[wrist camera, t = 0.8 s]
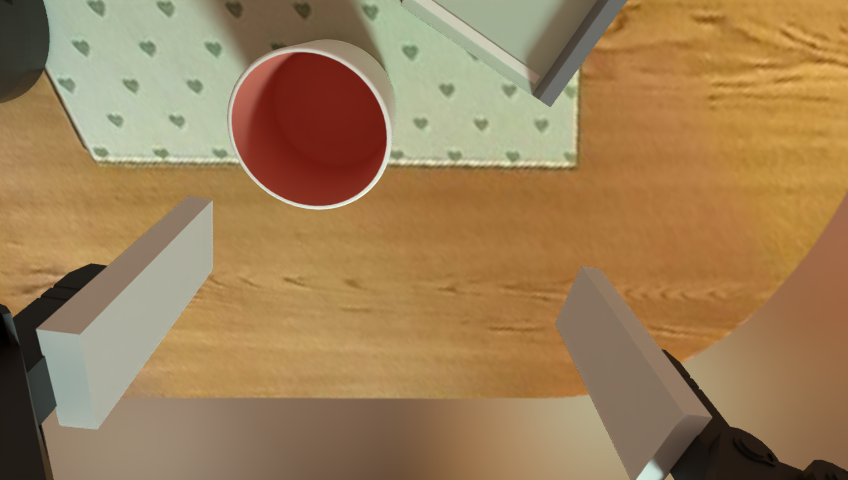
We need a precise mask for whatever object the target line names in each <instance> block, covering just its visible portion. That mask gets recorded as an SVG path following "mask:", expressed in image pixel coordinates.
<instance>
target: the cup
mask: <svg viewBox="0 0 848 480" xmlns="http://www.w3.org/2000/svg"><path fill="white" fill-rule="evenodd" d="M227 119H228V131H229V137H230V140H231V144H232V147H233V150H234V152H235V154H236V156H237V158H238V160H239V162H240V164H241V165H242V167H243V168H244V170H245V171H246V172H247V174H248V175H249V176H250V177H251V178H252V179H253V180H254V182H255V183H257V184H258V185H259V186H260V187H261V188H262V189H264V190H265V191H266V192H268V193H269V194H270V195H272V196H274V197H275V198H277V199H279V200H281V201H283V202H286V203H288V204H291V205H294V206H298V207H302V208H308V209H330V208H336V207H340V206H343V205H346V204H348V203H351V202H353V201H355V200H357V199H358V198H360V197H361V196H363V195H364V194H365V193H367V192H368V191H369V190H370V189H371V188H372V187H373V186H374V185H375V184H376V183H377V181H378V180H379V178H380V177H381V175H382V174H383V172H384V170H385V168H386V165H387V163H388V160H389V156H390V152H391V147H392V141H393V136H394V130H395V125H396V119H397V102H396V97H395V93H394V89H393V86H392V84H391V81H390V79H389V78H388V76H387V74H386V72H385V71H384V69H383V68H382V67H381V66H380V64H379V63H378V62H377V61H376V60H375V59H374V58H373V57H372V56H371V55H369V54H368V53H367V52H365V51H364V50H362V49H360V48H359V47H357V46H355V45H352V44H350V43H347V42H344V41H339V40H332V39H322V40H315V41H311V42H306V43H302V44H297V45H293V46H289V47H284V48H280V49H277V50H274V51H271V52H269V53H267V54H265V55H263V56H261V57H260V58H258V59H257V60H255V61H254V62H253V63H252V64H251V65H250V66H249V67H248V68H246V70H245V71H244V72H243V73H242V74H241V76H240V77H239V79H238V81H237V82H236V84H235V86H234V89H233V91H232V94H231V97H230V100H229V106H228V115H227Z"/></svg>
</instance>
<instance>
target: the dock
mask: <svg viewBox="0 0 848 480" xmlns="http://www.w3.org/2000/svg"><path fill="white" fill-rule="evenodd" d="M626 1H627V0H403V1H402V3H401V6H402V7H404V8H405V9H407V10H408V11H410V12H411V13H413V14H414V15H416V16H417V17H418V18H420V19H421V20H423V21H424V22H426V23H427V24H429V25H430V26H432V27H433V28H435V29H436V30H437V31H439V32H440V33H442V34H443V35H445V36H446V37H448V38H449V39H451V40H452V41H454V42H455V43H456V44H458V45H459V46H461V47H462V48H464V49H465V50H467V51H468V52H470V53H471V54H473V55H474V56H476V57H477V58H478V59H480V60H481V61H483V62H484V63H486V64H487V65H489V66H490V67H492V68H493V69H495V70H496V71H497V72H499V73H500V74H502V75H503V76H505V77H506V78H508V79H509V80H511V81H512V82H514V83H515V84H516V85H518V86H519V87H521V88H522V89H524V90H525V91H527V92H528V93H530V94H531V95H533V96H534V97H536V98H537V99H539V100H540V101H542V102H543V103H545V104H546V105H548V106H549V107H551V106H552V104H553V103H554V102H555V100H556V99H557V97H558V96H559V95H560V93H561V92H562V90H563V89H564V88H565V86H566V85H567V83H568V82H569V81H570V79H571V78H572V77H573V75H574V74H575V72H576V71H577V70H578V68H579V67H580V65H581V64H582V63H583V61H584V60H585V58H586V57H587V56H588V54H589V53H590V51H591V50H592V49H593V47H594V46H595V44H596V43H597V42H598V40H599V39H600V38H601V36H602V35H603V33H604V32H605V31H606V29H607V28H608V26H609V25H610V24H611V22H612V21H613V19H614V18H615V17H616V15H617V14H618V12H619V11H620V10H621V8H622V7H623V6H624V4H625V3H626Z"/></svg>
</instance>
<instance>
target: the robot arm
mask: <svg viewBox="0 0 848 480" xmlns="http://www.w3.org/2000/svg"><path fill="white" fill-rule="evenodd" d="M48 52H49V25H48V18H47V14H46V9H45V6H44V3H43V0H0V103H4V102H7V101H10V100H13V99H15V98H17V97H19V96H21V95H22V94H24V93H25V92H27V91H28V90H29V89H30V88H31V87H32V86H33V85H34V84H35V83H36V81H37V80H38V79H39V77H40V75H41V74H42V72H43V70H44V67H45V64H46V61H47V57H48ZM212 270H213V200H210V199H205V198H199V197H194V196H187V197H186V198H185V199H183V200H182V201H181V202H180V203H179V204H178V205H177V206H176V207H174V208H173V209H172V210H171V211H170V212H169V213H168V214H166V215H165V216H164V217H163V218H162V219H161V220H160V221H158V222H157V223H156V224H155V225H154V226H153V227H152V228H150V229H149V230H148V231H147V232H146V233H145V234H144V235H143V236H141V237H140V238H139V239H138V240H137V241H136V242H135V243H133V244H132V245H131V246H130V247H129V248H128V249H127V250H125V251H124V252H123V253H122V254H121V255H120V256H119V257H117V258H116V259H115V260H114V261H113V262H112V263H111V264H109V265H108V266H105V265H99V264H92V263H91V264H88V265H86V266H84V267H81V268H79V269H77V270H74V271H72V272H70V273H68V274H67V275H66V276H65V277H63V278H62V279H61V280H60V281H58V282H57V283H56V284H54V287H53V288H49V289H48V290H47V291H46V292H44V293H43V294H42V295H41V297H40V298H37V299H36V300H34V301H33V302H32V303H31V304H29V305H28V306H27V307H26V308H24V309H23V310H22V311H21V312H19V313H18V314H17V315H16V316H14V317H13V318H12V315H11V312H10V311H9V309H8V308H7V307H6V306H4V305H2V304H0V480H54V479H53V475H52V469H51V465H50V460H49V455H48V451H47V446H46V441H45V436H44V432H43V428H42V422H43V421H44V420H45V419H46V418H47V417H48V415H49V414H50V413H51V412H52V411H53V410H54V409H56V413H57V416H58V421H59V425H60V426H68V427H78V428H87V429H98V428H99V427H100V425H101V424H102V422H103V421H104V420H105V418H106V417H107V415H108V414H109V413H110V411H111V410H112V409H113V407H114V406H115V405H116V403H117V402H118V400H119V399H120V398H121V396H122V395H123V393H124V392H125V391H126V389H127V388H128V387H129V385H130V384H131V382H132V381H133V380H134V378H135V377H136V375H137V374H138V373H139V371H140V370H141V369H142V367H143V366H144V364H145V363H146V362H147V360H148V359H149V357H150V356H151V355H152V353H153V352H154V351H155V349H156V348H157V346H158V345H159V344H160V342H161V341H162V339H163V338H164V337H165V335H166V334H167V333H168V331H169V330H170V328H171V327H172V326H173V324H174V323H175V321H176V320H177V319H178V317H179V316H180V315H181V313H182V312H183V310H184V309H185V308H186V306H187V305H188V303H189V302H190V301H191V299H192V298H193V296H194V295H195V294H196V292H197V291H198V290H199V288H200V287H201V285H202V284H203V283H204V281H205V280H206V278H207V277H208V276H209V274H210V273H211V272H212ZM555 324H556V326H557V328H558V330H559V333H560V335H561V337H562V339H563V341H564V343H565V345H566V347H567V349H568V351H569V353H570V355H571V357H572V360H573V362H574V364H575V366H576V368H577V370H578V372H579V374H580V376H581V378H582V380H583V382H584V384H585V386H586V389H587V391H588V393H589V395H590V397H591V399H592V401H593V403H594V405H595V407H596V409H597V411H598V413H599V415H600V417H601V420H602V422H603V424H604V426H605V428H606V430H607V432H608V434H609V436H610V438H611V440H612V442H613V444H614V447H615V448H616V450H617V453H618V455H619V457H620V459H621V461H622V463H623V465H624V467H625V469H626V471H627V474H628V476H629V478H630V480H664V479H665V478H666V477H667V476H668V474H669V473H671V475H672V476H673V478H674V480H848V471H846V470H845V469H842V468H840V467H838V466H836V465H834V464H833V463H830V462H827V461H824V460H814V461H813V462H812V463H811V464H810V465H809V466H808V467H807V468H806V469H805V470H804V471H802V470H800V469H797V468H794V467H792V466H789V465H787V464H784V463H781V462H779V461H778V459H777V457H776V456H775V455H774V453H773V452H772V451H771V450H770V449H769V448H768V447H767V446H766V445H765V444H764V443H763V442H762V441H760V440H759V439H757V438H756V437H754V436H753V435H751V434H750V433H747V432H745V431H743V430H741V429H738V428H734V427H730V426H729V425H728V423H727V422H726V421H725V420H724V418H723V417H722V416H721V414H720V413H719V412H718V411H717V409H716V408H715V407H714V405H713V404H712V403H711V402H710V401H709V399H708V398H707V397H706V395H705V394H704V393H703V391H702V390H700V389H699V386H698V385H697V384H696V382H695V381H694V380H693V379H692V378H690V375H689V373H688V372H687V371H686V370H685V368H684V367H683V366H682V364H681V363H680V362H679V361H678V360H676V359H675V358H674V357H673V356H672V355H671V354H669V353H668V352H667V351H666V350H663V349H660V347H659V346H658V345H657V343H656V342H655V341H654V339H653V338H652V337H651V335H650V334H649V333H648V331H647V330H646V329H645V327H644V326H643V325H642V323H641V322H640V321H639V319H638V318H637V317H636V315H635V314H634V313H633V311H632V310H631V309H630V308H629V306H628V305H627V304H626V302H625V301H624V300H623V298H622V297H621V296H620V294H619V293H618V292H617V290H616V289H615V288H614V286H613V285H612V284H611V282H610V281H609V280H608V278H607V277H606V276H605V274H604V273H603V272H602V270H601V269H597V268H592V267H586V266H581V268H580V270H579V272H578V275H577V277H576V279H575V281H574V283H573V285H572V288H571V290H570V292H569V294H568V296H567V298H566V301H565V303H564V305H563V307H562V309H561V311H560V314H559V316H558V318H557V320H556V322H555Z"/></svg>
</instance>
